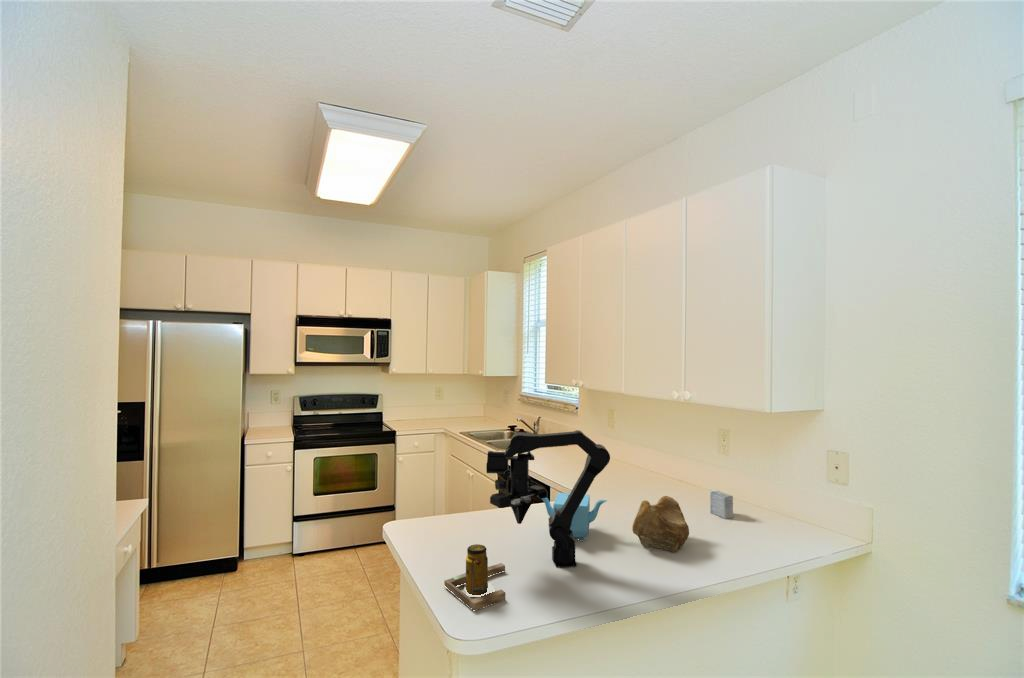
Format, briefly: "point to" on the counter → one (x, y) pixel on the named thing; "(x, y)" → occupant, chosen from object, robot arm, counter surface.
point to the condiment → (476, 570)
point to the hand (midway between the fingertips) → (519, 523)
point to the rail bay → (479, 601)
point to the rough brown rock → (661, 525)
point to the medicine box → (721, 504)
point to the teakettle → (576, 513)
